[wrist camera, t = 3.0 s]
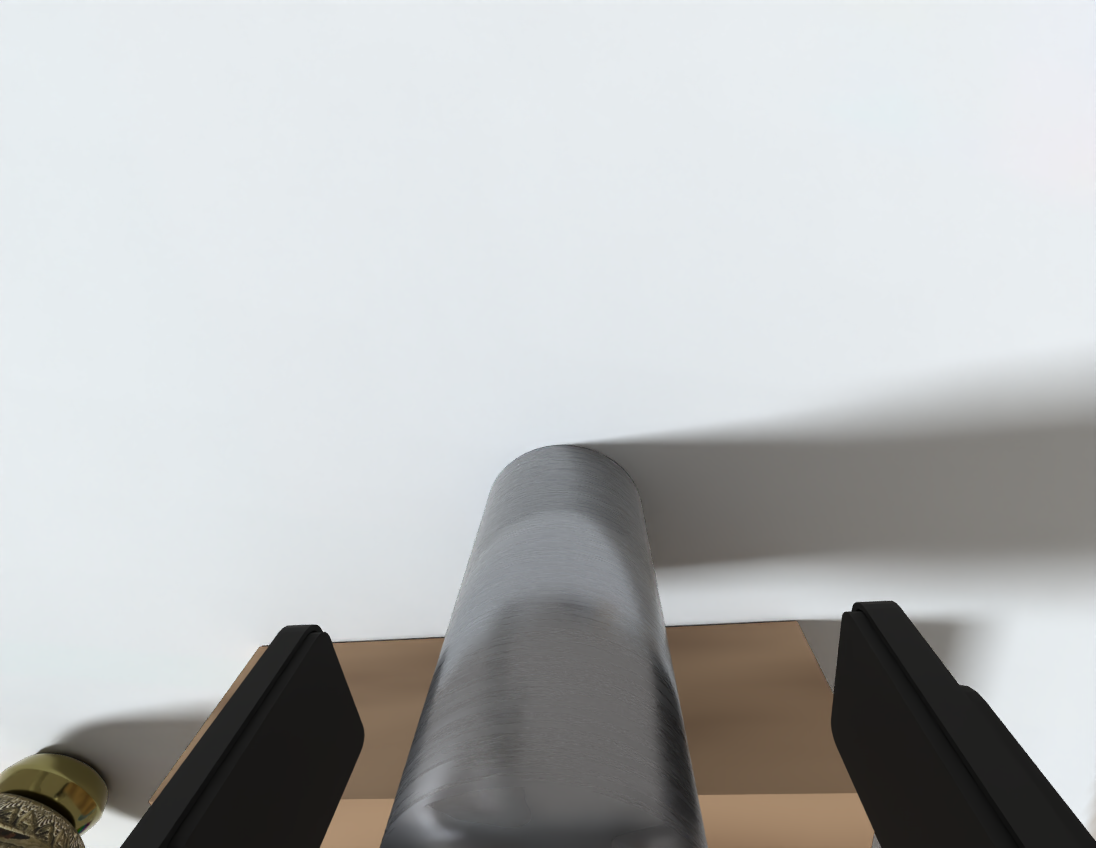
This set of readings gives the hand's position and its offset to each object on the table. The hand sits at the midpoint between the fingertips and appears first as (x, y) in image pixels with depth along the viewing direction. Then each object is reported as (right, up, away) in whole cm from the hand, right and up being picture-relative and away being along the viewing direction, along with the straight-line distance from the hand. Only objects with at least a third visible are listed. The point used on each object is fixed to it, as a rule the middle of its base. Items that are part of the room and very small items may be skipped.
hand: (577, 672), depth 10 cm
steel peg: (0, +2, +4) cm, 4 cm away
